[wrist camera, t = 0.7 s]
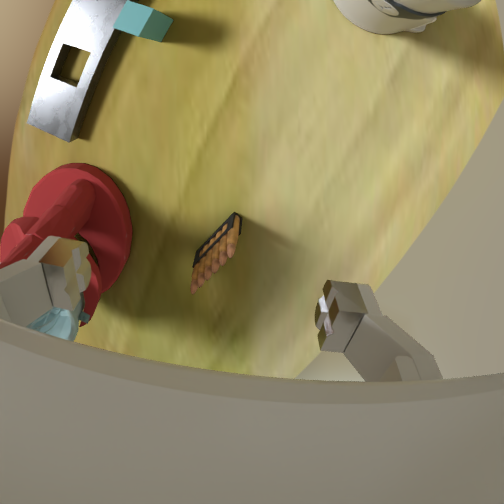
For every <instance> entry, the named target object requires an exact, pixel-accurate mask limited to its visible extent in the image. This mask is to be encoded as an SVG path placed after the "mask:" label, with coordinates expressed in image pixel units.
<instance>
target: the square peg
mask: <svg viewBox="0 0 504 504" xmlns="http://www.w3.org/2000/svg"><path fill="white" fill-rule="evenodd" d="M172 22H173V19H171V18H169V17H168V16H166V15H164V14H162V13H161V12H159V11H157V10H155V9H153V8H150V7H147V6H144V5H141V4H138V3H135V2H131V1H128V0H127V1H126V3H125V5H124V7H123V9H122V10H121V12H120V14H119V16H118V18H117V20H116V22H115V24H114V25H113V27H112V28H115V29H118V30H121V31H124V32H127V33H130V34H133V35H136V36H138V37H142V38H147V39H151V40H155V41H158V42H161V41H162V39H163V38H164V36H165V34H166V32H167V30H168V29H169V27H170V25H171V24H172Z"/></svg>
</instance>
